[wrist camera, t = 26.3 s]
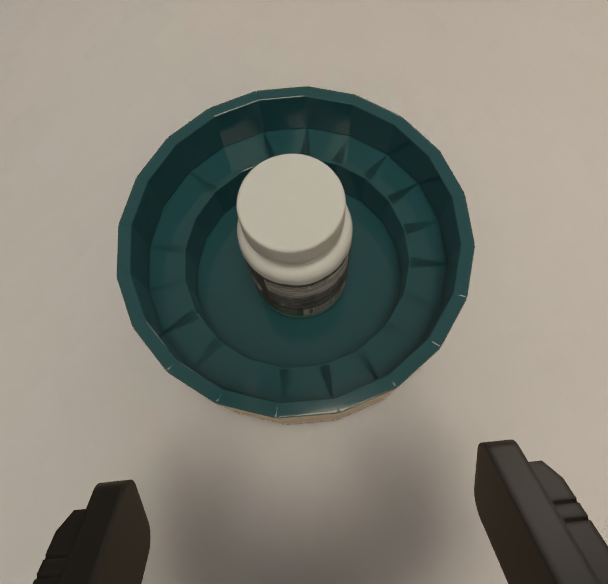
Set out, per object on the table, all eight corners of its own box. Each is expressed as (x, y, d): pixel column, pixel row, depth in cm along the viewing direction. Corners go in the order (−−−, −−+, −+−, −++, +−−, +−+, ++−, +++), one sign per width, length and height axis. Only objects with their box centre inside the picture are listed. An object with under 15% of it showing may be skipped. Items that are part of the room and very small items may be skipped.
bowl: (280, 492, 24) (268, 504, 18) (102, 264, 27) (50, 220, 22) (504, 289, 26) (549, 248, 21) (313, 107, 30) (311, 34, 25)
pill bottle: (265, 228, 27) (241, 134, 19) (352, 242, 27) (366, 151, 19) (246, 312, 26) (212, 249, 18) (338, 327, 25) (346, 270, 17)
